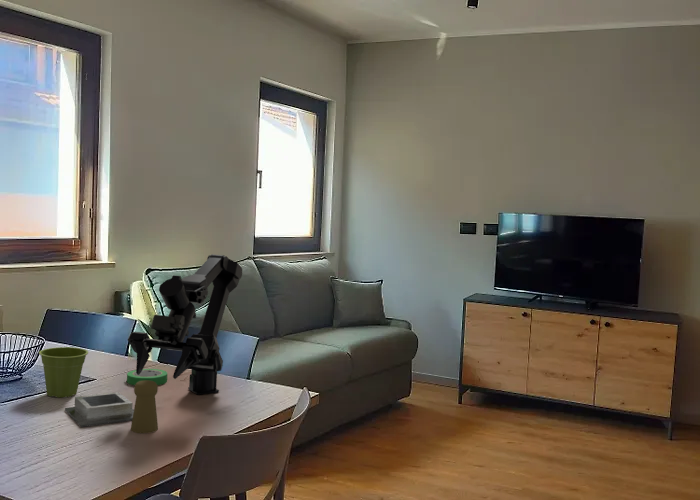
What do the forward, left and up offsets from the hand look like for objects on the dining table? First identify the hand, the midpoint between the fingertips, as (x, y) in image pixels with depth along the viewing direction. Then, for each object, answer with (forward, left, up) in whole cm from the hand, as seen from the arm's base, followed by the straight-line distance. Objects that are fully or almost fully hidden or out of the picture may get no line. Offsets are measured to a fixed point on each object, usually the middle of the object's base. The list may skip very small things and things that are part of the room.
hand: (155, 375), depth 162 cm
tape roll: (-12, -36, -12) cm, 40 cm away
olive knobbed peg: (+3, +3, -11) cm, 12 cm away
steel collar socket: (+8, -11, -11) cm, 18 cm away
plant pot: (+12, -32, -11) cm, 36 cm away
